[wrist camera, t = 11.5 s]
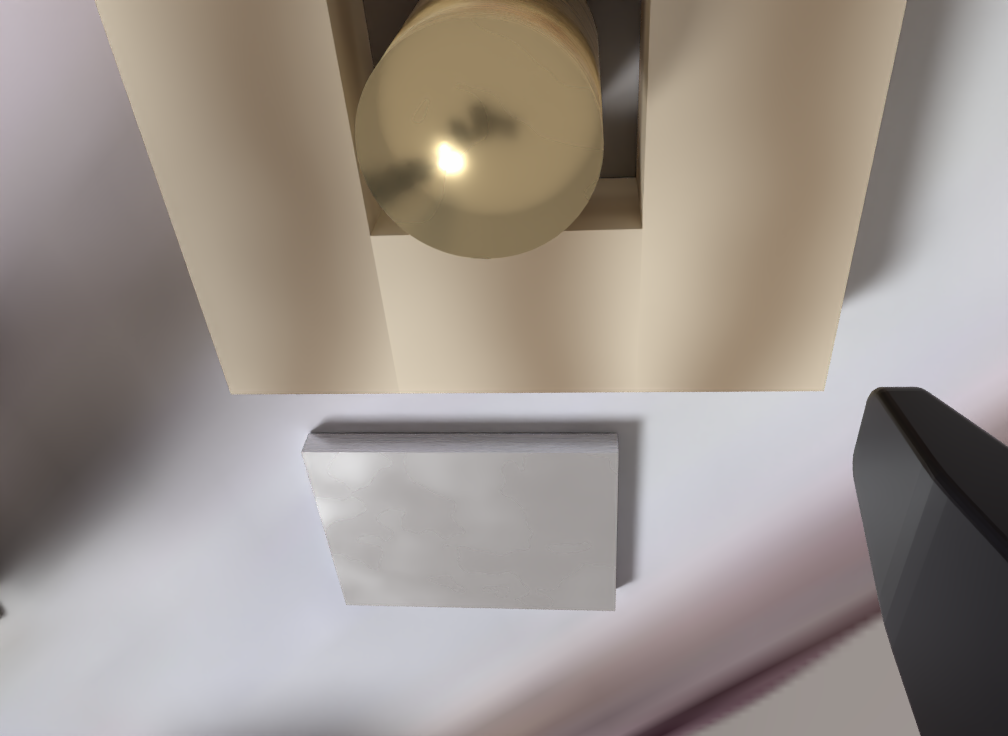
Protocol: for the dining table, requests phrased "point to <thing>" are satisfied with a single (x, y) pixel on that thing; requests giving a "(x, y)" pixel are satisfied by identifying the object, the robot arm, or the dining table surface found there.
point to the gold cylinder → (485, 124)
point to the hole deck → (548, 268)
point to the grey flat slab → (469, 518)
